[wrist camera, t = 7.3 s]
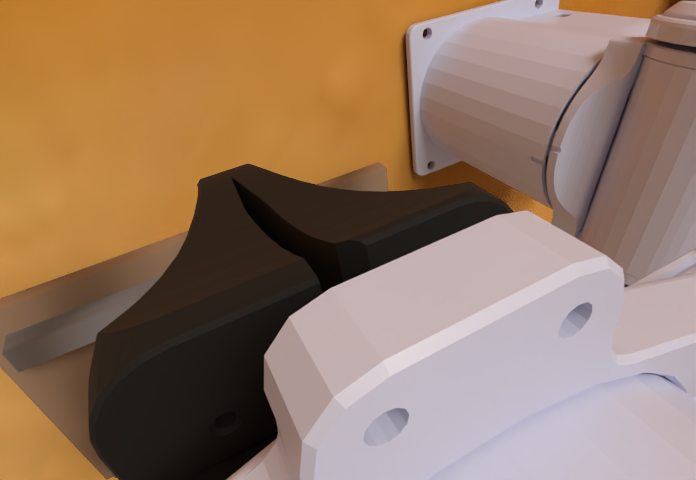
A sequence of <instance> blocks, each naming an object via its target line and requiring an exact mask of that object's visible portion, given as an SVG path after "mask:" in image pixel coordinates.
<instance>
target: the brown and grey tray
mask: <svg viewBox="0 0 696 480" xmlns="http://www.w3.org/2000/svg"><path fill="white" fill-rule="evenodd" d="M317 185H319V186H325V187H330V188H338V189H346V190H356V191H389V190H388V180H387V170H386V167H385V166H383V165H382V164H381V163H379V162H378V163H376V164H373V165H370V166H367V167H364V168H362V169H359V170H356V171H353V172H351V173H348V174H345V175H342V176H340V177H337V178H334V179H331V180H328V181H326V182H323V183H320V184H317ZM187 234H188V231H187V232H184V233H182V234H179V235H176V236H173V237H171V238H168V239H165V240H162V241H160V242H157V243H154V244H151V245H148V246H146V247H143V248H140V249H137V250H135V251H132V252H129V253H126V254H124V255H121V256H118V257H115V258H112V259H110V260H107V261H104V262H101V263H99V264H96V265H93V266H90V267H88V268H85V269H82V270H79V271H77V272H74V273H71V274H68V275H65V276H63V277H60V278H57V279H54V280H52V281H49V282H46V283H43V284H41V285H38V286H35V287H32V288H29V289H27V290H24V291H21V292H18V293H16V294H13V295H10V296H7V297H5V298H2V299H0V367H1V368H2V369H3V370H4V371H5V372H6V373H7V375H8V376H9V377H10V378H11V379H12V380H13V381H14V382H15V383H16V384H17V385H18V386H19V387H20V388H21V389H22V390H23V391H24V393H25V394H26V395H27V396H28V397H29V398H30V399H31V400H32V401H33V402H34V403H35V404H36V405H37V406H38V407H39V408H40V409H41V411H42V412H43V413H44V414H45V415H46V416H47V417H48V418H49V419H50V420H51V421H52V422H53V423H54V424H55V425H56V426H57V427H58V429H59V430H60V431H61V432H62V433H63V434H64V435H65V436H66V437H67V438H68V439H69V440H70V441H71V442H72V443H73V444H74V445H75V447H76V448H77V449H78V450H79V451H80V452H81V453H82V454H83V455H84V456H85V457H86V458H87V459H88V460H89V461H90V462H91V463H92V464H93V466H94V467H95V468H96V469H97V470H98V471H99V472H100V473H101V474H102V475H103V476H104V477H105V478H106V479H109V478H111V477H113V476H114V477H115V478H117V477H116V476H115V475H114V474H113V473H112V471H111V470H110V469H109V468H108V467H107V466H106V465H105V464H104V463H103V462H102V460H101V459H100V458H99V457H98V455H97V453H96V452H95V450H94V448H93V446H92V444H91V443H90V438H89V419H88V384H89V374H90V368H91V362H92V357H93V352H94V346H95V341H96V336H97V333H98V332H99V331H101V330H102V329H103V328H105V327H106V326H107V325H109V324H110V323H111V322H112V321H114V320H115V319H116V318H117V317H119V316H120V315H121V314H122V313H124V312H125V311H126V310H127V309H129V308H130V307H131V306H132V305H133V304H135V303H136V302H137V301H138V300H139V299H140V298H141V297H142V296H143V295H144V294H145V293H146V292H147V291H148V290H149V289H150V288H151V287H152V286H153V285H154V284H155V283H156V282H157V281H158V280H159V278H160V277H161V276H162V275H163V273H164V272H165V271H166V269H167V268H168V267H169V265H170V264H171V263H172V261H173V260H174V259H175V257H176V256H177V254H178V253H179V251H180V249H181V247H182V245H183V243H184V241H185V239H186V236H187Z"/></svg>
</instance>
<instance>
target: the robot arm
mask: <svg viewBox="0 0 696 480" xmlns="http://www.w3.org/2000/svg"><path fill="white" fill-rule="evenodd" d="M535 2H536V0H503V1H499V2H495V3H491V4H487V5H484V6H480V7H476V8H472V9H469V10H465V11H461V12H457V13H453V14H450V15H446V16H442V17H438V18H434V19H431V20H427V21H423V22H419V23H416V24H413V25H411V26H410V27H409V28H408V30H407V32H406V53H407V70H408V88H409V105H410V123H411V140H412V158H413V170H414V172H415V173H416V174H417V175H419V176H424V175H427V174H429V173H432V172H434V171H437V170H440V169H442V168H445V167H447V166H450V165H453V164H455V163H458V162H460V161H463V162H465V163H467V164H469V165H471V166H473V167H475V168H476V169H478V170H480V171H482V172H484V173H486V174H488V175H490V176H491V177H493V178H495V179H497V180H499V181H501V182H503V183H504V184H506V185H508V186H510V187H512V188H514V189H516V190H517V191H519V192H521V193H523V194H525V195H527V196H529V197H530V198H532V199H534V200H536V201H538V202H540V203H542V204H543V205H545V206H547V207H549V208H551V209H553V219H552V223H551V224H550V223H549V222H547V221H545V220H543V219H542V218H540V217H538V216H536V215H535V214H533V213H531V212H529V211H528V210H526V211H520V212H513V211H512V210H511V209H510V207H509V206H508V205H507V204H506V203H505V202H504V201H502V200H501V199H499V198H497V197H495V196H494V195H492V194H490V193H489V192H487V191H485V190H483V189H482V188H480V187H478V186H477V185H475V184H473V183H472V182H467V183H461V184H455V185H448V186H442V187H436V188H430V189H420V190H407V191H356V190H346V189H338V188H330V187H325V186H319V185H315V184H311V183H307V182H303V181H299V180H296V179H292V178H289V177H286V176H283V175H280V174H277V173H274V172H271V171H268V170H266V169H263V168H260V167H257V166H254V165H251V164H245V165H242V166H239V167H236V168H233V169H230V170H227V171H224V172H221V173H218V174H215V175H212V176H209V177H206V178H203V179H200V181H199V183H198V184H197V186H198V198H197V204H196V208H195V213H194V217H193V220H192V223H191V226H190V228H189V231H188V234H187V236H186V239H185V241H184V243H183V245H182V247H181V249H180V251H179V253H178V254H177V256H176V257H175V259H174V260H173V261H172V263H171V264H170V265H169V267H168V268H167V269H166V271H165V272H164V273H163V275H162V276H161V277H160V278H159V280H158V281H157V282H156V283H155V284H154V285H153V286H152V287H151V288H150V289H149V290H148V291H147V292H146V293H145V294H144V295H143V296H142V297H141V298H140V299H139V300H138V301H137V302H136V303H135V304H133V305H132V306H131V307H130V308H129V309H127V310H126V311H125V312H124V313H122V314H121V315H120V316H119V317H117V318H116V319H115V320H114V321H112V322H111V323H110V324H109V325H107V326H106V327H105V328H103V329H102V330H101V331H99V332H98V333H97V336H96V341H95V346H94V352H93V357H92V362H91V368H90V374H89V384H88V419H89V438H90V443H91V444H92V446H93V448H94V450H95V452H96V453H97V455H98V457H99V458H100V459H101V460H102V462H103V463H104V464H105V465H106V466H107V467H108V468H109V469H110V470H111V471H112V473H113V474H114V475H115V476H116V477H117V478H118V479H119V480H696V1H680V2H678V3H676V4H675V5H673V6H672V7H670V8H669V9H667V10H666V11H665V12H664V14H659V15H655V16H654V17H652V19H644V18H635V17H625V16H616V15H606V14H597V13H587V12H578V11H569V10H559V9H558V7H559V0H537V4H536V6H535ZM425 29H427V35H426V37H425V38H423V31H424V30H425ZM430 161H431V164H430V166H428V163H429V162H430ZM427 166H428V167H427Z"/></svg>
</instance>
